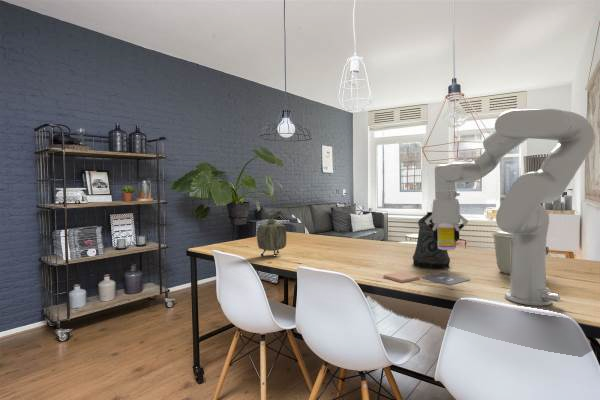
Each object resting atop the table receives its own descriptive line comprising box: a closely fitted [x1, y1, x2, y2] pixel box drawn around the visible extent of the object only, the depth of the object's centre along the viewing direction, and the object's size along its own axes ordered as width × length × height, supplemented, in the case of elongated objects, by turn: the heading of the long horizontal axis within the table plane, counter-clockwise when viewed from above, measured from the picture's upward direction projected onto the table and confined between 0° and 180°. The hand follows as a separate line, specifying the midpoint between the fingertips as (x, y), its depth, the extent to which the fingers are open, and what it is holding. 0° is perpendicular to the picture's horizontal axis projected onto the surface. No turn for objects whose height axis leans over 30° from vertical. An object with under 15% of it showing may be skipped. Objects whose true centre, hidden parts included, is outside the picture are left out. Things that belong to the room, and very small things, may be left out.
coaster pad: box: [382, 271, 421, 283], centre depth 143 cm, size 10×10×1 cm
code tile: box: [420, 272, 471, 286], centre depth 140 cm, size 13×13×1 cm
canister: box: [491, 229, 513, 275], centre depth 147 cm, size 18×18×21 cm
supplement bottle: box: [437, 219, 457, 251], centre depth 139 cm, size 7×7×13 cm
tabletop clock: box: [256, 210, 287, 257], centre depth 193 cm, size 14×9×25 cm, turn 130°
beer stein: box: [412, 211, 456, 270], centre depth 164 cm, size 16×19×25 cm
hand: (446, 240), depth 139 cm, fingers closed on supplement bottle, 6 cm apart
